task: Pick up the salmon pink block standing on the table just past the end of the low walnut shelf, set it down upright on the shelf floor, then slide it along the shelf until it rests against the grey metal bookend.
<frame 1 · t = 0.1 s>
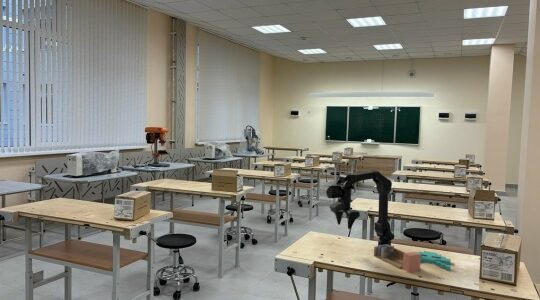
hand: (343, 226, 205), 15 cm above the table, fingers open, 9 cm apart
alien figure: (428, 262, 201), on the table
salmon pink block: (411, 270, 187), on the table
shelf: (393, 261, 198), on the table
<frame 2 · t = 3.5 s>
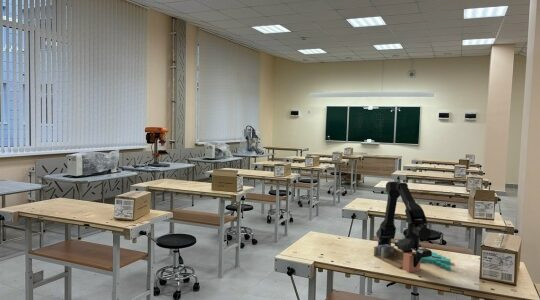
hand: (411, 265, 187), 2 cm above the table, fingers closed on salmon pink block, 4 cm apart
salmon pink block: (411, 270, 187), on the table, touching gripper
everything else where it was.
when the fingers open (4 cm above the table, at t = 6.5 s): salmon pink block drops 1 cm, resting on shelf.
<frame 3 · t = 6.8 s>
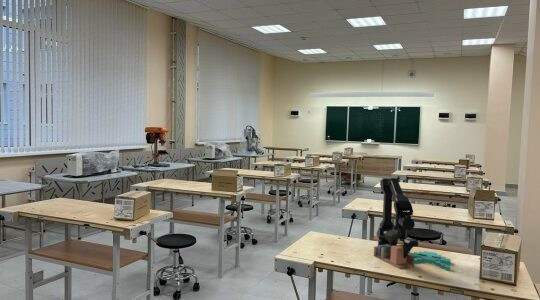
hand: (399, 255, 194), 4 cm above the table, fingers open, 7 cm apart
salmon pink block: (398, 262, 194), point 1 cm above the table, touching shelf
everything else where it was.
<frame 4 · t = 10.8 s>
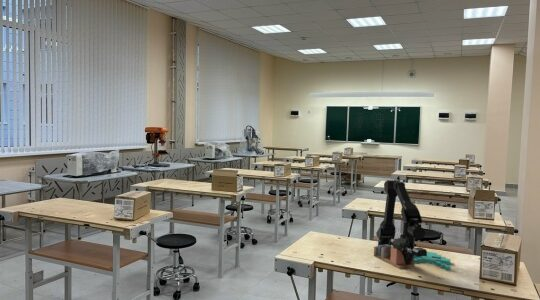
hand: (406, 264, 189), 2 cm above the table, fingers closed
salmon pink block: (398, 262, 194), point 1 cm above the table, touching gripper, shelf
everything else where it was.
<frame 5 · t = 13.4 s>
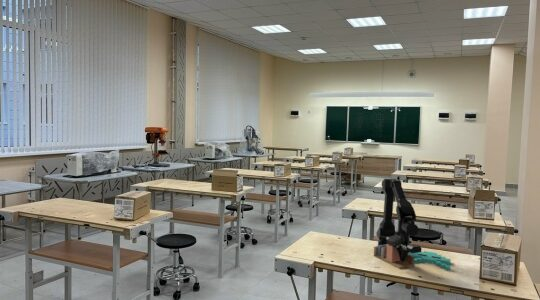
hand: (402, 261, 191), 2 cm above the table, fingers closed
salmon pink block: (394, 260, 196), point 1 cm above the table, touching gripper, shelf
everything else where it was.
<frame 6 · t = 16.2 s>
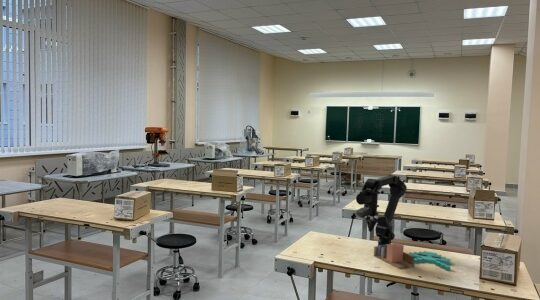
hand: (370, 231, 208), 12 cm above the table, fingers closed
salmon pink block: (394, 260, 196), point 1 cm above the table, touching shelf
everything else where it was.
at the end: salmon pink block 1.7 cm from the target spot, point 1.0 cm above the table; salmon pink block tilted 0° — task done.
